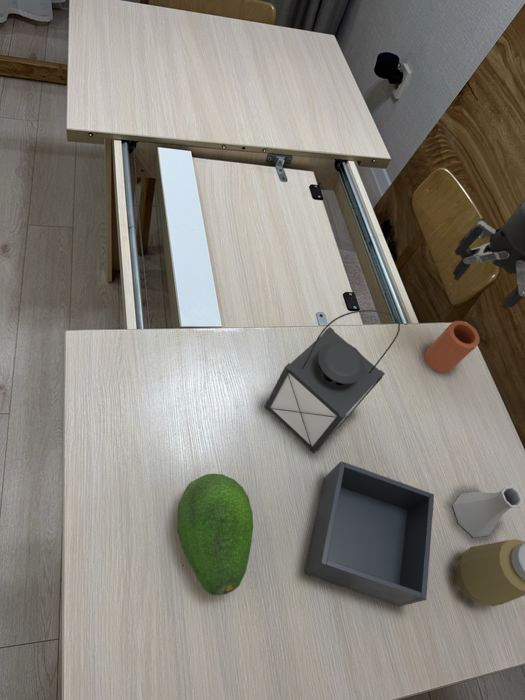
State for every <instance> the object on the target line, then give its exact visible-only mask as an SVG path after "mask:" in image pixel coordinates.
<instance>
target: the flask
mask: <svg viewBox="0 0 525 700" xmlns="http://www.w3.org/2000/svg"><path fill="white" fill-rule="evenodd" d="M523 502H524V499H523V497H522V494H521V492H520V491H519V490H518V489H517V488H516V487H515V486H514V485H506V486H503V488H502V489H501V490H500V491H498V492H483V491H472V492H471V491H470V492H461V493H460V494H459V496H458V497H457V498H456V500H455V501H454V502H453V504H452V508H453V511H454V513H455V517H456V520H457V523H458V525H459V526H460V527H461V528H462V529H464V530H465V531H466V532H467V533H468V534H469V535H470V536H471V537H472V538H480V537H486V536H487V537H488V536H490V535H491V533H492V532H493V529H495V527H496V526H497V524H498V522H499V521H500V519H501V518H502V517H503V515H504V514H505V513H507V512H508V511H509V510H510V509H515V508H520V507H521V505H522V504H523Z"/></svg>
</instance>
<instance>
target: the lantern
mask: <svg viewBox="0 0 525 700" xmlns="http://www.w3.org/2000/svg"><path fill="white" fill-rule="evenodd" d="M366 312H371V313H373V312H375V313H381V314H386V315H388V316H391V317H392V318H393V319H394V320H396V323H397V324H398V325H397V331H396V334H395V335H394V338H393V339H392V341H391V343H389V345H388V347H387V349H386V350H385V351H384V352H383V354H382V355H381V356H380V358H379V359H378V360H377V362H376V363H375V364H373V363H372V362H371V361H369V360H368V359H367V358H366V357H365V356H364V355H362V353H361V352H360V351H359V350H358V348H356V347H355V346H353V345H351V344H350V343H349V342H347V341H346V340H345V339H344V338H342V336H340V335H339V334H337V332H336V331H335V330H334V329H333V328H332V327H331V326H330V325H332V324H333V323H334V322H335V321H337V320H339V319H341V318H343V317H345V316H346V317H347V316H348V315H349V316H350V315H352V314H357V313H366ZM400 331H401V323H400V320H399V318H398V317H396V316H395V315H394V314H392V313H390V312H387V311H384V310H377V309H360V310H354V311H350V312H347V313H344V314H342V315H339V316H337V317H336V318H334V319H332V320H331V321H330V322H329V323H328V324H326V326H325V327H324V328H323V329H322V330H321V332H320V333H319V334H318V336H317V338H316V340H314V341H313V343H311V344H310V345H309V346H308V347H307V348H306V349H305V350H303V352H301V353H299V355H298V356H297V357H296V358H295V359H294V360H292V361H291V362H289V363H287V364H286V365H285V366H284V368H283V369H282V371H281V374H280V376H279V377H278V379H277V381H276V383H275V385H274V387H273V389H272V391H271V393H270V395H269V397H268V399H267V401H266V403H265V405H264V408H265V409H266V410H267V411H269V412H270V413H271V414H273V415H274V416H275V417H276V418H277V419H278V420H279V421H280V422H282V424H283V425H284V426H285V427H287V429H289V430H290V431H291V432H292V433H293V434H294V435H295V436H296V437H297V438H298V439H299V440H300V441H302V443H304V444H305V445H306V446H307V447H308V448H309V450H310V451H311V452H312V453H313V454H315V453H316V452H317V451H319V450H320V448H322V446H323V445H324V444H326V442H327V441H328V439H329V438H331V436H332V435H333V434H334V433H335V432H336V431H337V429H338V428H339V427H340V426H341V425H342V424H343V422H345V420H346V419H348V417H349V416H351V414H353V413H354V411H355V409H356V408H357V407H358V406H359V405H360V404H361V403H362V401H363V400H364V399H365V398H366V397H367V396H368V395H369V393H370V392H371V391H372V390H373V389H374V388H375V387H376V386H377V384H378V383H379V382H380V381H381V380H382V379H383V377H384V376H385V375H386V373H385V372H384V371H383V370H382V369H379V368H378V367H377V366H378V364H379V363H380V362H381V360H382V359H383V358H384V356H385V355H387V352H388V351H389V350H390V348H391V347H392V345H393V344H394V342H395V341H396V339H397V338H398V336H399V333H400Z"/></svg>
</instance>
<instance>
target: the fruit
mask: <svg viewBox="0 0 525 700" xmlns="http://www.w3.org/2000/svg"><path fill="white" fill-rule="evenodd" d="M176 530H177V535H178V538H179V542H180V545H181V549H182V551H183V553H184V554H185V555H184V556H185V557H186V559H187V561H188V563H189V565H190V567H191V569H192V572H193V573H194V575H195V577H196V579H197V581H198V583H199V585H200V587H202V588H203V590H204V591H205V592H206V593H208V594H210V595H212V596H222V595H227V594H229V593H232V592H234V591H235V590H237V589H238V588H239V587H240V585H241V583H242V581H243V579H244V577H245V574H246V573H247V568H248V562H249V557H250V554H251V553H250V552H251V547H252V540H253V531H254V518H253V509H252V507H251V501H250V498H249V496H248V494H247V492H246V491H245V489H244V487H243V486H242V485H241V484H240V483H239V482H238V481H236V479H234V478H232V477H229V476H227V475H225V474H223V473H206V474H204V475H202V476H200V477H198V478H196V479H194V480H192V481H190V483H188V484H187V486H186V487H185V489H184V491H183V493H182V495H181V498H180V499H179V502H178V505H177V511H176Z"/></svg>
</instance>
